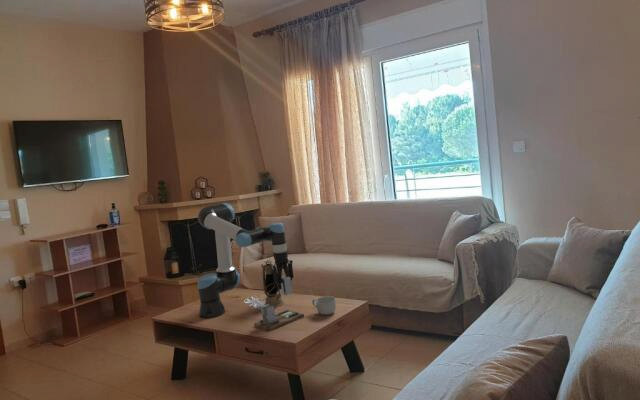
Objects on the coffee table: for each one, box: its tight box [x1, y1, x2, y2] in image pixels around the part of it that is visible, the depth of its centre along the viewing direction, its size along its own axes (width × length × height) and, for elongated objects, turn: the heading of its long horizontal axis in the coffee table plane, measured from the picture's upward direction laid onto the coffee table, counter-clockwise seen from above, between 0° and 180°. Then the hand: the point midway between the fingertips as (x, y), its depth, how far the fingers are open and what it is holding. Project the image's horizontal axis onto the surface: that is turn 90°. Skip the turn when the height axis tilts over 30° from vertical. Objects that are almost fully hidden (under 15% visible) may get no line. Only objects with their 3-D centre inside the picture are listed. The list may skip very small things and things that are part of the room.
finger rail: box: [253, 303, 305, 332], centre depth 253 cm, size 14×23×10 cm, turn 132°
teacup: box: [311, 295, 337, 316], centre depth 258 cm, size 14×11×8 cm
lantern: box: [260, 259, 285, 309], centre depth 283 cm, size 14×12×30 cm
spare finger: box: [279, 275, 293, 296], centre depth 256 cm, size 4×6×9 cm
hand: (285, 293), depth 257 cm, fingers closed on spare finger, 4 cm apart
